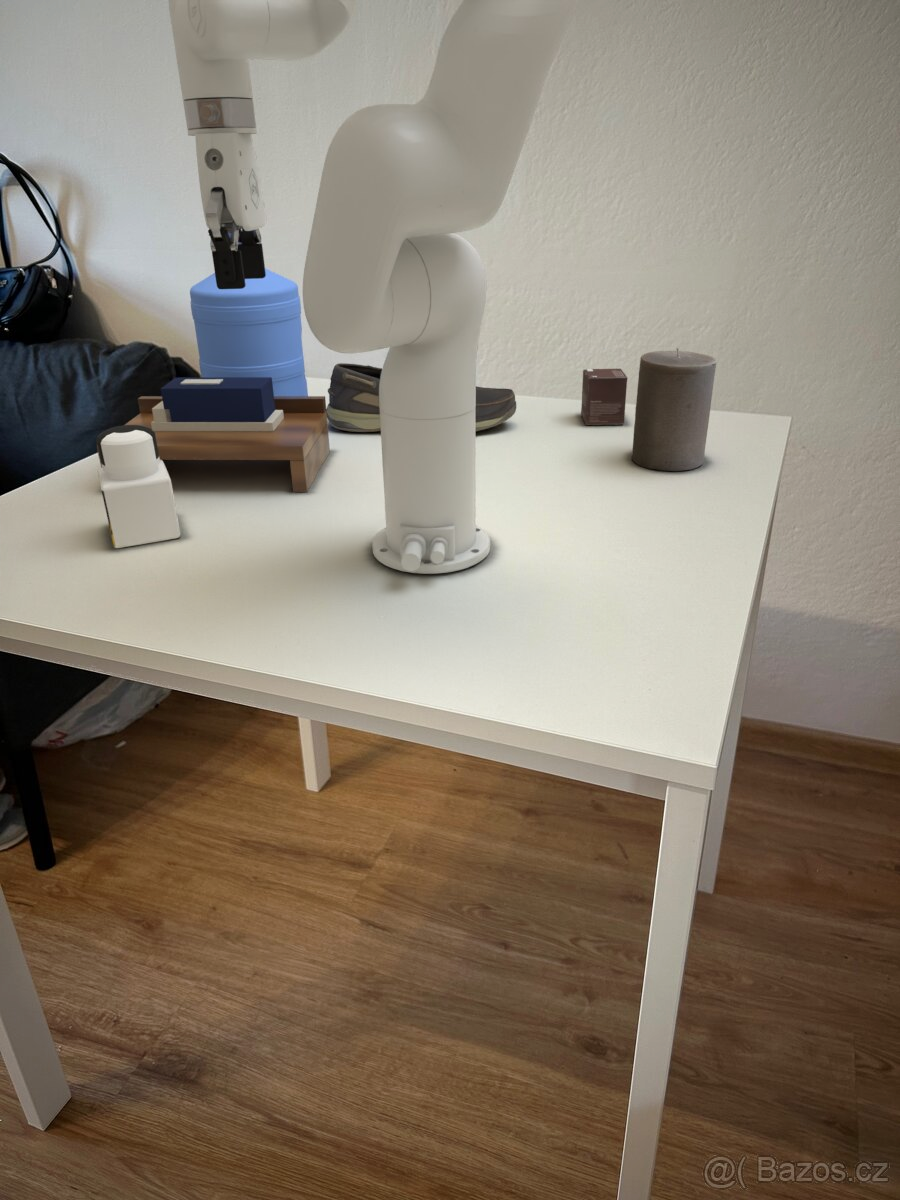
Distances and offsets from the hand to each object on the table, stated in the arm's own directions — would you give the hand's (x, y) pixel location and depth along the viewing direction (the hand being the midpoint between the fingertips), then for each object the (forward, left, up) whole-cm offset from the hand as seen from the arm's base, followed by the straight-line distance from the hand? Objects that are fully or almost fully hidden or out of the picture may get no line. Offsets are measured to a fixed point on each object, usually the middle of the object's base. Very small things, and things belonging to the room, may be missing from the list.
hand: (242, 283), depth 103 cm
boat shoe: (+22, -19, -24) cm, 38 cm away
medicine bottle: (-19, +9, -24) cm, 32 cm away
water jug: (+22, +6, -24) cm, 33 cm away
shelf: (+2, +6, -24) cm, 25 cm away
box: (+26, -47, -24) cm, 59 cm away
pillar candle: (+7, -54, -24) cm, 59 cm away
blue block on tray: (+3, +6, -18) cm, 19 cm away
